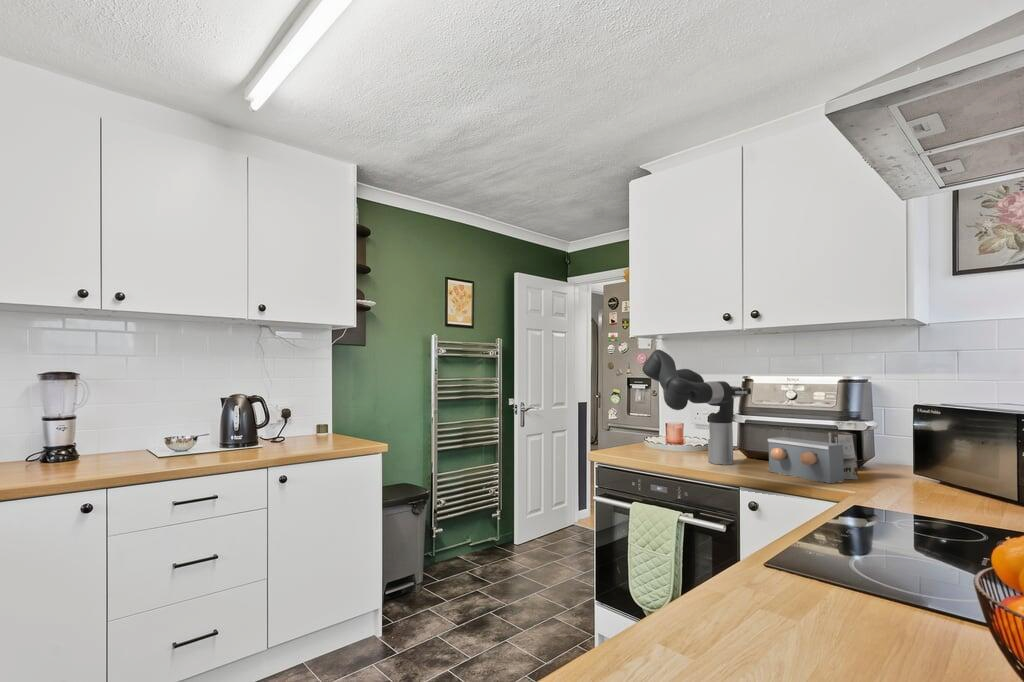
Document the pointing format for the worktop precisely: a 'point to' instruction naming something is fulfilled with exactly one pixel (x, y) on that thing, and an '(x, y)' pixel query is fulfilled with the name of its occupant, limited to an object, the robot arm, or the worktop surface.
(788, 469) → the control box
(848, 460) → the coffee box
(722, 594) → the worktop surface
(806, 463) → the knob
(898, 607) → the worktop surface
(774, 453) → the knob
